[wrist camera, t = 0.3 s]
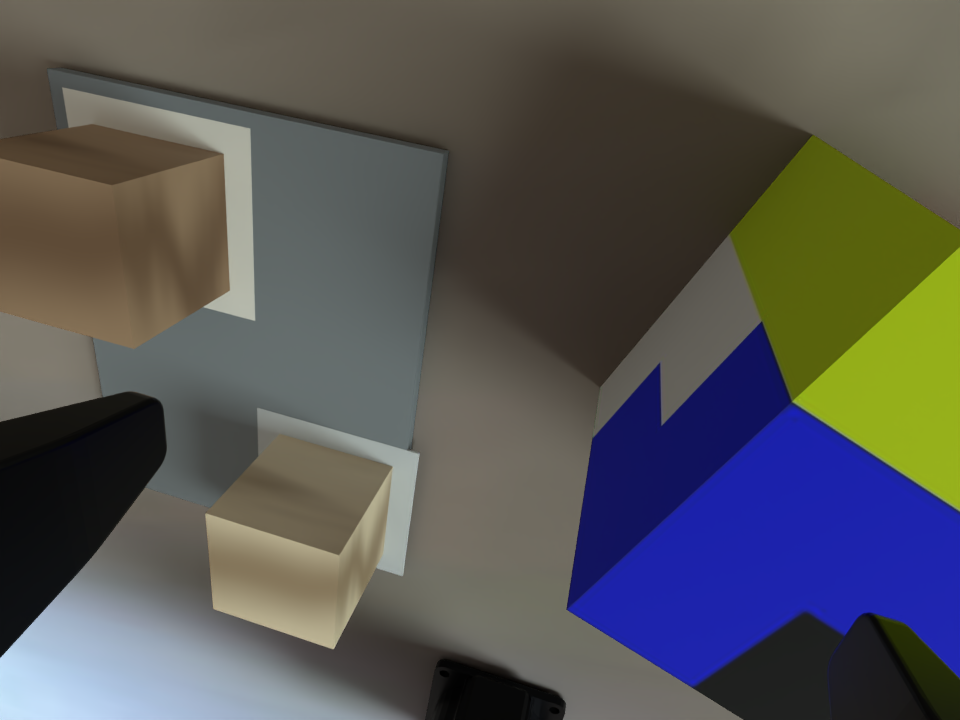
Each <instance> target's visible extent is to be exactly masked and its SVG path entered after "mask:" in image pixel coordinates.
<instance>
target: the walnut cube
mask: <svg viewBox="0 0 960 720" xmlns="http://www.w3.org/2000/svg"><path fill="white" fill-rule="evenodd" d="M228 291H230V281H229V259H228V237H227V215H226V194H225V172H224V154H222V153H218V152H214V151H209V150H205V149H200V148H196V147H192V146H187V145H183V144H178V143H174V142H170V141H165V140H161V139H156V138H152V137H148V136H143V135H139V134H134V133H130V132H125V131H121V130H117V129H112V128H108V127H103V126H99V125H95V124H89V125H83V126H77V127H71V128H65V129H59V130H53V131H47V132H40V133H34V134H28V135H22V136H16V137H10V138H4V139H0V312H4V313H7V314H11V315H15V316H18V317H22V318H25V319H29V320H32V321H36V322H40V323H43V324H47V325H50V326H54V327H57V328H61V329H65V330H68V331H72V332H75V333H79V334H82V335H86V336H90V337H93V338H97V339H100V340H104V341H107V342H111V343H115V344H118V345H122V346H125V347H129V348H132V349H135V348H137V347H138V346H140V345H142V344H143V343H145V342H146V341H148V340H150V339H151V338H153V337H155V336H156V335H158V334H160V333H161V332H163V331H164V330H166V329H168V328H169V327H171V326H173V325H174V324H176V323H178V322H179V321H181V320H183V319H184V318H186V317H187V316H189V315H191V314H192V313H194V312H196V311H197V310H199V309H201V308H202V307H204V306H206V305H207V304H209V303H210V302H212V301H214V300H215V299H217V298H219V297H220V296H222V295H224V294H225V293H227V292H228Z"/></svg>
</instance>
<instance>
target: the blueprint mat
mask: <svg viewBox="0 0 960 720" xmlns="http://www.w3.org/2000/svg"><path fill="white" fill-rule="evenodd" d="M47 72H48V78H49V84H50V90H51V96H52V102H53V107H54V113H55V119H56V125H57V130H59V129H65V128H71V127H77V126H83V125H89V124H95V125H99V126H103V127H108V128H112V129H117V130H121V131H125V132H130V133H134V134H139V135H143V136H148V137H152V138H156V139H161V140H165V141H170V142H174V143H178V144H183V145H187V146H192V147H196V148H200V149H205V150H209V151H214V152H218V153H222V154H224V172H225V194H226V215H227V237H228V259H229V281H230V291H228V292H227V293H225V294H224V295H222V296H220V297H219V298H217V299H215V300H214V301H212V302H210V303H209V304H207V305H206V306H204V307H202V308H201V309H199V310H197V311H196V312H194V313H192V314H191V315H189V316H187V317H186V318H184V319H183V320H181V321H179V322H178V323H176V324H174V325H173V326H171V327H169V328H168V329H166V330H164V331H163V332H161V333H160V334H158V335H156V336H155V337H153V338H151V339H150V340H148V341H146V342H145V343H143V344H142V345H140V346H138V347H137V348H135V349H132V348H129V347H125V346H122V345H118V344H115V343H111V342H107V341H104V340H100V339H97V338H93V342H94V348H95V354H96V360H97V366H98V372H99V377H100V383H101V389H102V395H103V397H106V396H110V395H114V394H118V393H122V392H127V391H133V392H138V393H141V394H145V395H148V396H151V397H155V398H157V399H158V400H160V402H161V403H162V405H163V408H164V417H165V428H166V439H167V452H166V456H165V459H164V461H163V463H162V465H161V467H160V468H159V470H158V471H157V472H156V474H155V475H154V476H153V478H152V479H151V480H150V482H149V483H148V484H147V486H146V487H145V488H148V489H152V490H155V491H158V492H161V493H164V494H168V495H171V496H174V497H177V498H180V499H184V500H187V501H190V502H193V503H196V504H200V505H203V506H206V507H209V508H211V507H212V506H213V505H214V504H215V502H216V501H217V500H218V499H219V498H220V497H221V496H222V495H223V494H224V493H225V492H226V491H227V490H228V489H229V487H230V486H231V485H232V484H233V483H234V482H235V481H236V480H237V479H238V478H239V477H240V476H241V475H242V474H243V472H244V471H245V470H246V469H247V468H248V467H249V466H250V465H251V464H252V463H253V462H254V461H255V460H256V459H257V457H258V456H259V455H260V454H261V453H262V452H263V451H264V450H265V449H266V448H267V447H268V446H269V445H270V444H271V442H272V441H273V440H274V439H275V438H276V437H277V436H278V435H279V434H282V435H286V436H289V437H292V438H296V439H299V440H303V441H306V442H310V443H313V444H317V445H320V446H323V447H327V448H330V449H334V450H337V451H341V452H344V453H348V454H351V455H354V456H358V457H361V458H365V459H368V460H372V461H375V462H379V463H382V464H385V465H389V466H392V467H393V470H392V479H391V488H390V497H389V506H388V515H387V524H386V533H385V542H384V551H383V555H382V557H381V559H380V561H379V563H378V565H377V567H376V568H378V569H381V570H384V571H387V572H391V573H394V574H397V575H400V576H403V572H404V564H405V557H406V550H407V542H408V535H409V527H410V520H411V513H412V505H413V498H414V491H415V483H416V476H417V469H418V461H419V454H420V452H416V451H413V450H411V446H412V438H413V430H414V422H415V415H416V407H417V399H418V391H419V383H420V375H421V367H422V359H423V351H424V344H425V336H426V328H427V320H428V312H429V304H430V296H431V288H432V280H433V273H434V265H435V257H436V249H437V241H438V233H439V225H440V217H441V210H442V202H443V194H444V186H445V178H446V170H447V162H448V154H449V151H447V150H443V149H438V148H433V147H429V146H424V145H419V144H415V143H410V142H405V141H401V140H396V139H391V138H387V137H382V136H377V135H373V134H368V133H363V132H359V131H354V130H349V129H345V128H340V127H335V126H331V125H326V124H322V123H317V122H312V121H308V120H303V119H298V118H294V117H289V116H284V115H280V114H275V113H270V112H266V111H261V110H256V109H252V108H247V107H242V106H238V105H233V104H228V103H224V102H219V101H214V100H210V99H205V98H200V97H196V96H191V95H186V94H182V93H177V92H173V91H168V90H163V89H159V88H154V87H149V86H145V85H140V84H135V83H131V82H126V81H121V80H117V79H112V78H107V77H103V76H98V75H93V74H89V73H84V72H79V71H75V70H70V69H65V68H47Z"/></svg>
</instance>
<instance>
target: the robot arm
mask: <svg viewBox="0 0 960 720" xmlns="http://www.w3.org/2000/svg"><path fill="white" fill-rule="evenodd" d="M166 452H167V439H166V428H165V417H164V408H163V405H162V403H161V402H160V400H158V399H157V398H155V397H151V396H148V395H145V394H141V393H138V392H133V391H127V392H122V393H118V394H114V395H110V396H106V397H102V398H97V399H93V400H89V401H85V402H81V403H77V404H73V405H68V406H64V407H60V408H56V409H52V410H48V411H44V412H39V413H35V414H31V415H27V416H23V417H19V418H15V419H10V420H6V421H2V422H0V658H1V657H2V655H3V654H4V653H5V652H6V651H7V650H8V649H9V648H10V647H11V646H12V645H13V643H14V642H15V641H16V640H17V639H18V638H19V637H20V636H21V635H22V634H23V633H24V631H25V630H26V629H27V628H28V627H29V626H30V625H31V624H32V623H33V622H34V621H35V619H36V618H37V617H38V616H39V615H40V614H41V613H42V612H43V611H44V610H45V609H46V607H47V606H48V605H49V604H50V603H51V602H52V601H53V600H54V599H55V598H56V597H57V595H58V594H59V593H60V592H61V591H62V590H63V589H64V588H65V587H66V586H67V585H68V583H69V582H70V581H71V580H72V579H73V578H74V577H75V576H76V575H77V574H78V572H79V571H80V570H81V569H82V568H83V567H84V566H85V564H86V563H87V562H88V561H89V560H90V559H91V557H92V556H93V555H94V554H95V552H96V551H97V550H98V549H99V548H100V546H101V545H102V544H103V543H104V541H105V540H106V539H107V537H108V536H109V535H110V533H111V532H112V531H113V529H114V528H115V527H116V525H117V524H118V523H119V521H120V520H121V519H122V517H123V516H124V515H125V513H126V512H127V511H128V509H129V508H130V507H131V505H132V504H133V503H134V501H135V500H136V499H137V497H138V496H139V495H140V493H141V492H142V491H143V489H144V488H145V487H146V486H147V484H148V483H149V482H150V480H151V479H152V478H153V476H154V475H155V474H156V472H157V471H158V470H159V468H160V467H161V465H162V463H163V461H164V459H165V456H166ZM828 689H829V702H830V715H831V720H960V678H959V677H958V676H957V675H956V674H955V673H954V672H953V671H952V670H951V669H950V668H949V667H948V666H947V665H946V664H945V663H944V662H943V661H942V660H941V659H940V658H939V657H938V656H937V655H936V654H935V653H934V652H933V650H932V649H931V648H930V647H929V646H928V645H927V644H926V643H925V642H924V641H923V640H922V639H921V638H920V637H919V636H918V635H917V634H916V633H915V632H914V631H913V630H912V629H911V628H910V627H909V626H908V625H906V624H905V623H903V622H901V621H898V620H895V619H892V618H889V617H885V616H882V615H879V614H875V613H871V612H867V613H863V614H861V615H860V616H859V617H858V618H857V619H856V620H855V622H854V623H853V625H852V626H851V627H850V629H849V630H848V632H847V633H846V635H845V636H844V638H843V639H842V641H841V642H840V644H839V645H838V647H837V648H836V650H835V651H834V653H833V654H832V656H831V659H830V661H829V665H828ZM565 708H566V703H565V701H564V700H563V699H562V698H560V697H557V696H554V695H551V694H548V693H545V692H542V691H539V690H536V689H533V688H530V687H527V686H524V685H521V684H518V683H515V682H512V681H509V680H506V679H503V678H500V677H497V676H494V675H491V674H488V673H485V672H482V671H479V670H476V669H473V668H470V667H467V666H463V665H460V664H457V663H454V662H451V661H448V660H440V661H438V663H437V666H436V669H435V672H434V677H433V683H432V688H431V693H430V698H429V703H428V709H427V714H426V719H425V720H563V717H564V714H565Z"/></svg>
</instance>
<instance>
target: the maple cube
mask: <svg viewBox="0 0 960 720" xmlns="http://www.w3.org/2000/svg"><path fill="white" fill-rule="evenodd" d="M392 470H393V467H392V466H389V465H385V464H382V463H379V462H375V461H372V460H368V459H365V458H361V457H358V456H354V455H351V454H348V453H344V452H341V451H337V450H334V449H330V448H327V447H323V446H320V445H317V444H313V443H310V442H306V441H303V440H299V439H296V438H292V437H289V436H286V435H282V434H279V435H278V436H277V437H276V438H275V439H274V440H273V441H272V442H271V444H270V445H269V446H268V447H267V448H266V449H265V450H264V451H263V452H262V453H261V454H260V455H259V456H258V457H257V459H256V460H255V461H254V462H253V463H252V464H251V465H250V466H249V467H248V468H247V469H246V470H245V471H244V472H243V474H242V475H241V476H240V477H239V478H238V479H237V480H236V481H235V482H234V483H233V484H232V485H231V486H230V487H229V489H228V490H227V491H226V492H225V493H224V494H223V495H222V496H221V497H220V498H219V499H218V500H217V501H216V502H215V504H214V505H213V506H212V507H211V508H210V509H209V510H208V511H207V512H206V513H205V514H206V526H207V539H208V551H209V563H210V575H211V587H212V599H213V609H215V610H218V611H221V612H224V613H227V614H230V615H233V616H236V617H239V618H242V619H245V620H248V621H250V622H253V623H256V624H259V625H262V626H265V627H268V628H271V629H274V630H277V631H280V632H283V633H286V634H289V635H292V636H295V637H298V638H301V639H304V640H307V641H310V642H313V643H316V644H319V645H322V646H325V647H328V648H331V649H334V648H335V646H336V644H337V642H338V640H339V638H340V636H341V634H342V632H343V630H344V628H345V627H346V625H347V623H348V621H349V619H350V617H351V615H352V613H353V611H354V609H355V607H356V605H357V603H358V602H359V600H360V598H361V596H362V594H363V592H364V590H365V588H366V586H367V584H368V582H369V580H370V578H371V576H372V575H373V573H374V571H375V569H376V567H377V565H378V563H379V561H380V559H381V557H382V555H383V551H384V542H385V533H386V524H387V515H388V506H389V497H390V488H391V479H392Z"/></svg>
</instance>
